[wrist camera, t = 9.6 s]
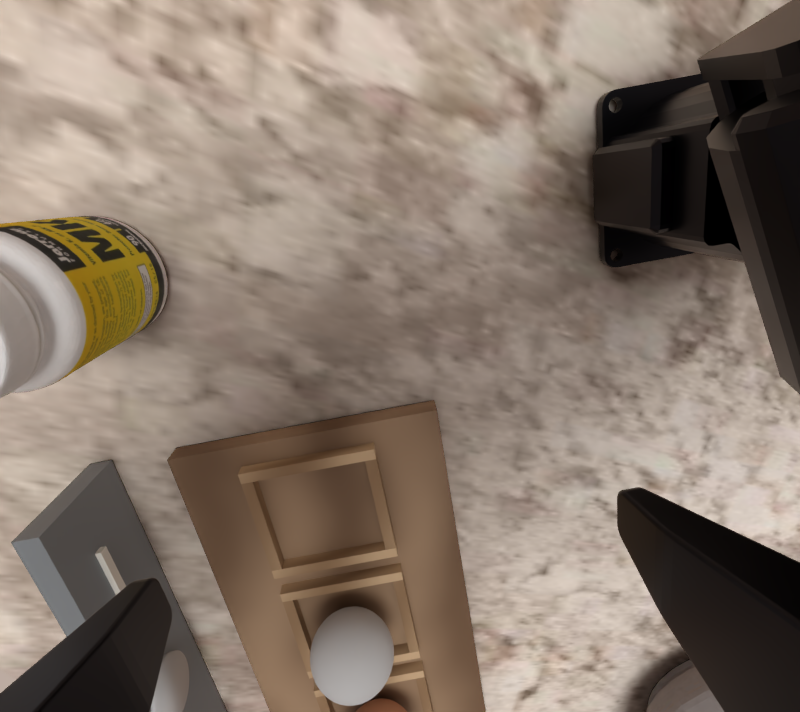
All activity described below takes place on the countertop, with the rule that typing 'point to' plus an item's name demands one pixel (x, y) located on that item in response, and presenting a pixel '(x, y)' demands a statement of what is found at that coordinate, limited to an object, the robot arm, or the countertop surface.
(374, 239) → the countertop surface
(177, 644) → the card
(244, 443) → the rack
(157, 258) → the supplement bottle
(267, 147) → the countertop surface
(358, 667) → the grey ball
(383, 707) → the terracotta ball
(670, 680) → the coffee pot
